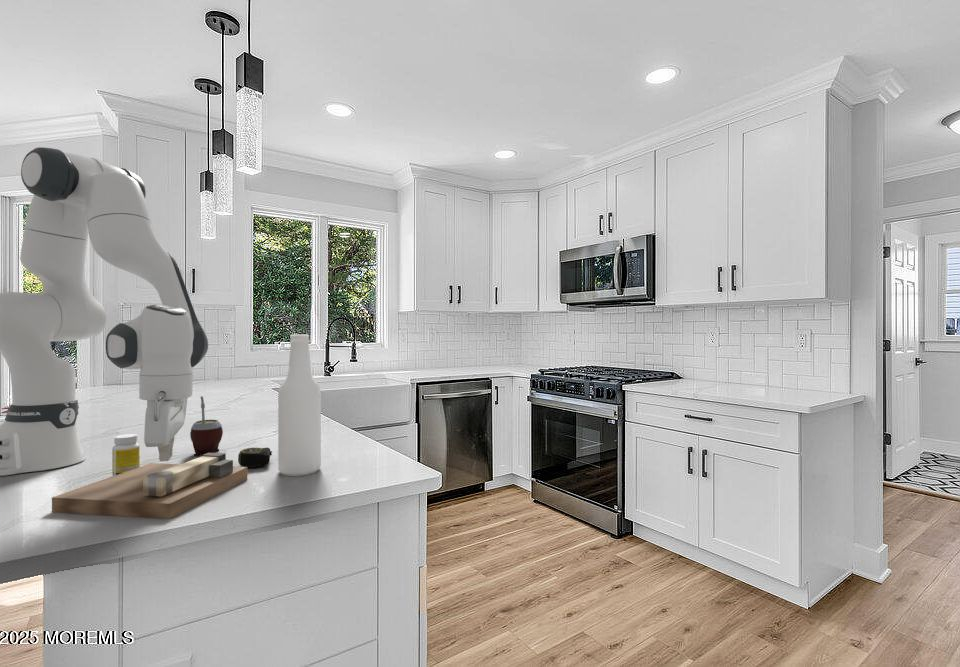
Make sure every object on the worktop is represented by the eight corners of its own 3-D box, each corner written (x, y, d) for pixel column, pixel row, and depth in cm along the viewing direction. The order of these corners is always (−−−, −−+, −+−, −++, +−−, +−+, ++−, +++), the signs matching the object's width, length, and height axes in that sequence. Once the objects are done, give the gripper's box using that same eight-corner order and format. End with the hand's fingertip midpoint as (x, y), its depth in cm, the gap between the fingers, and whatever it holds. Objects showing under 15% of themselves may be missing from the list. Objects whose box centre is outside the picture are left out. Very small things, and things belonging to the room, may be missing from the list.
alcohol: (280, 479, 106) (280, 335, 105) (276, 468, 113) (276, 334, 113) (324, 473, 110) (324, 334, 109) (317, 463, 117) (316, 334, 117)
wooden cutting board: (51, 512, 87) (51, 482, 86) (151, 474, 108) (151, 451, 108) (169, 518, 84) (169, 488, 84) (247, 479, 106) (247, 455, 105)
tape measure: (269, 469, 114) (269, 452, 114) (235, 471, 112) (235, 454, 111) (272, 461, 120) (272, 445, 120) (240, 463, 118) (240, 447, 118)
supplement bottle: (144, 473, 109) (144, 434, 109) (121, 479, 105) (121, 439, 105) (130, 470, 111) (130, 432, 111) (107, 476, 107) (107, 436, 107)
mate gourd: (211, 448, 131) (211, 390, 131) (230, 452, 127) (230, 393, 127) (182, 455, 125) (182, 394, 125) (201, 459, 121) (201, 396, 121)
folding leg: (161, 496, 86) (161, 478, 86) (141, 495, 87) (141, 477, 87) (225, 469, 103) (225, 453, 103) (208, 468, 103) (208, 452, 103)
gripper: (176, 395, 90) (175, 472, 91) (192, 382, 109) (191, 446, 110) (134, 396, 88) (133, 476, 88) (157, 383, 107) (157, 448, 107)
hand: (165, 459), depth 99 cm, fingers closed
